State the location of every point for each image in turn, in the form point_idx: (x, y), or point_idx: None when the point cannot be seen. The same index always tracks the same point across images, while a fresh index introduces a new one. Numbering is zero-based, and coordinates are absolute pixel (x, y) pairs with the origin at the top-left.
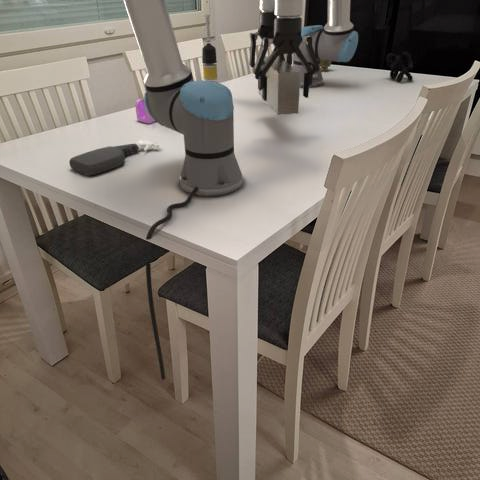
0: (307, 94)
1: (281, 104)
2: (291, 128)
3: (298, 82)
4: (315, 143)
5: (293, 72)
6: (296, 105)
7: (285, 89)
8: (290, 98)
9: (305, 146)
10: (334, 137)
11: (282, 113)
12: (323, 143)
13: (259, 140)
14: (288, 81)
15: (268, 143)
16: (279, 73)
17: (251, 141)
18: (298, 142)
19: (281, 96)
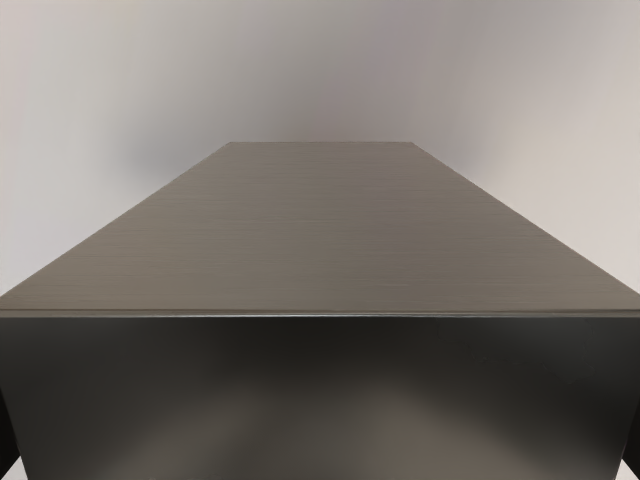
0: None
1: (393, 156)
2: None
3: (142, 215)
4: (161, 45)
5: (200, 304)
6: (236, 151)
7: (374, 190)
8: (297, 164)
9: (233, 4)
10: (30, 123)
11: (369, 142)
12: (113, 33)
13: (464, 172)
14: (336, 227)
15: (432, 111)
16: (630, 305)
17: (512, 166)
18: (258, 87)
19: (411, 173)
